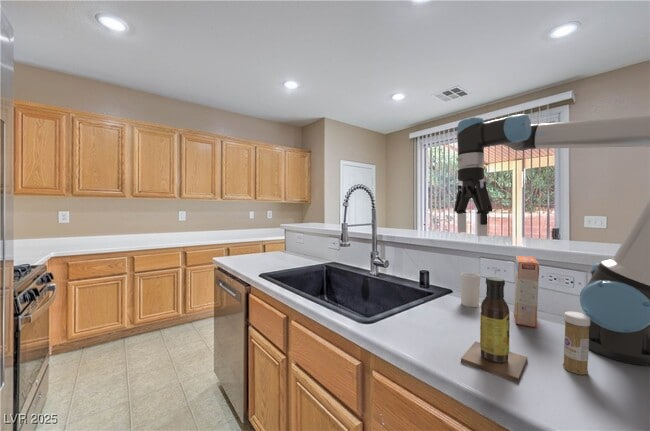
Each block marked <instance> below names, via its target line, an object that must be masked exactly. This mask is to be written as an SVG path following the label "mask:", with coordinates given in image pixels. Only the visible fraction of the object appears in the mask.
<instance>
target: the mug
mask: <svg viewBox="0 0 650 431" xmlns="http://www.w3.org/2000/svg"><path fill="white" fill-rule="evenodd" d="M480 287H481V274H479V273H475V272H470V271H469V272H467V271H466V272H461V273H460V303H461V305H462V306H465V307H468V308H478V307H480V290H481V289H480Z"/></svg>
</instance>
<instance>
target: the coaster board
mask: <svg viewBox="0 0 650 431" xmlns="http://www.w3.org/2000/svg"><path fill="white" fill-rule="evenodd" d="M460 363H463V364H465V365H468V366H471V367H473V368H477V369H480V370H481V371H484V372H488V373H490V374H493V375H496V376H498V377H502V378H504V379H507V380H509V381H512V382H515V383H519V382H520V380H521V377H522V375H523V372H524V370H525V367H526V366H527V363H528V356H526V355H525V356H524V355H522V354H520V353H519V354H518V353H516V352H512V351H509V354H508V361H506V362H493V361H489V360H487V359H485V358H483V357H482V355H481V347H480V341H474V342H473V343H472V345H471V346H470V347H469V348H468V349H467V351H465V353H464V354H463V355H462V356H461V358H460Z"/></svg>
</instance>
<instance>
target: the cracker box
mask: <svg viewBox="0 0 650 431" xmlns="http://www.w3.org/2000/svg"><path fill="white" fill-rule="evenodd" d="M514 270H515V274H514V296H513V297H514V298H513V299H514V302H513V313H514V320H515V324H516V325H521V326H524V327H525V326H526V327H529V328H537V326H538V325H537V323H538V322H537V321H538V320H537V319H538V301H539V299H538V298H539V297H538V296H539V277H540V276H539V275H540V263H539V262H538V260H537V259H536V258H535V257H534V256H528V255H516V256H515V269H514Z"/></svg>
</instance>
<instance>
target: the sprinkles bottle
mask: <svg viewBox="0 0 650 431" xmlns="http://www.w3.org/2000/svg"><path fill="white" fill-rule="evenodd" d="M563 318H564V319H563V320H564V324H565V325H564V340H563V363H562V366H563V368H564V369H565V370H566V371H568V372H571V373H573V374H577V375H587V374H589V370H588V369H589V368H588V362H589V351H590V349H589V325H590V317H589V316H587V315H586V314H585V313H582V312H578V311H570V310H569V311H565V312H564V317H563Z"/></svg>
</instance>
